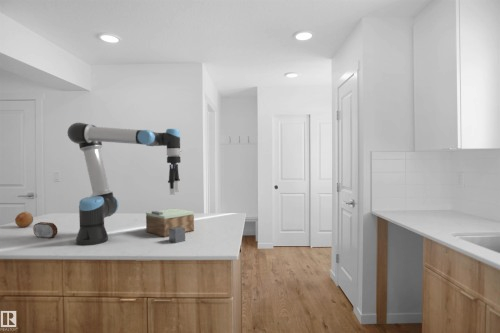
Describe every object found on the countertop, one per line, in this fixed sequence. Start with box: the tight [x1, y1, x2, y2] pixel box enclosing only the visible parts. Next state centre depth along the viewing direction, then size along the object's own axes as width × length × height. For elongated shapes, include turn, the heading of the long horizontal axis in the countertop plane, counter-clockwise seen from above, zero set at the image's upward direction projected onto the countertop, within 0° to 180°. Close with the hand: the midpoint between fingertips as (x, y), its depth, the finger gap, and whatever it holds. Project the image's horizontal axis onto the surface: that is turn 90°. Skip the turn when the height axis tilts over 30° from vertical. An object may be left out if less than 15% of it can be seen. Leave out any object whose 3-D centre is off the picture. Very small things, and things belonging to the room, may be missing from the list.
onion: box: [14, 211, 34, 228], centre depth 205 cm, size 10×10×10 cm
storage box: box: [145, 214, 195, 238], centre depth 186 cm, size 20×20×10 cm
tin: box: [32, 221, 58, 239], centre depth 176 cm, size 15×3×8 cm, turn 74°
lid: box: [145, 208, 195, 219], centre depth 186 cm, size 20×20×3 cm
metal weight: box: [168, 226, 186, 244], centre depth 164 cm, size 6×6×7 cm
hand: (174, 193), depth 177 cm, fingers open, 13 cm apart
